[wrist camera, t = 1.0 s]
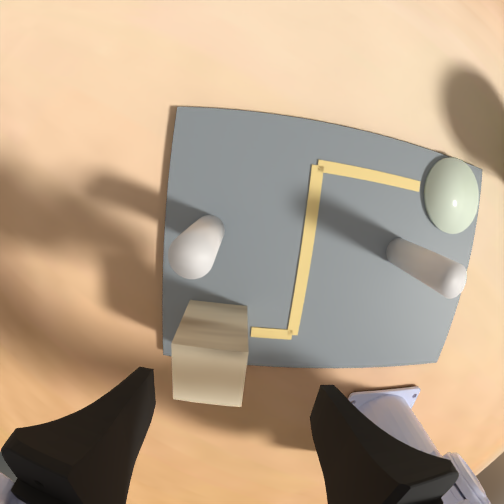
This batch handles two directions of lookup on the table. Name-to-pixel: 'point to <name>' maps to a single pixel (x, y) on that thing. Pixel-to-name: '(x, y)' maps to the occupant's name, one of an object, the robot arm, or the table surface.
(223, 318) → the block
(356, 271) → the board
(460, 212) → the pad
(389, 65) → the table surface
